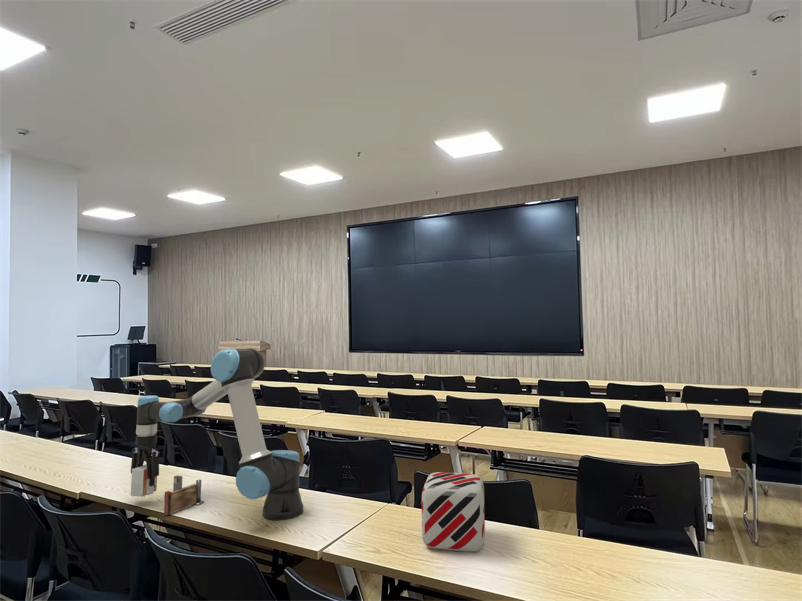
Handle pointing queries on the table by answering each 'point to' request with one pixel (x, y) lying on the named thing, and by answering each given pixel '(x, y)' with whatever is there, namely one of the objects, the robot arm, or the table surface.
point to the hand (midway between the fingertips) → (143, 492)
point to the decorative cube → (453, 511)
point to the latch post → (177, 482)
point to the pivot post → (198, 493)
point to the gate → (179, 499)
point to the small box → (140, 481)
